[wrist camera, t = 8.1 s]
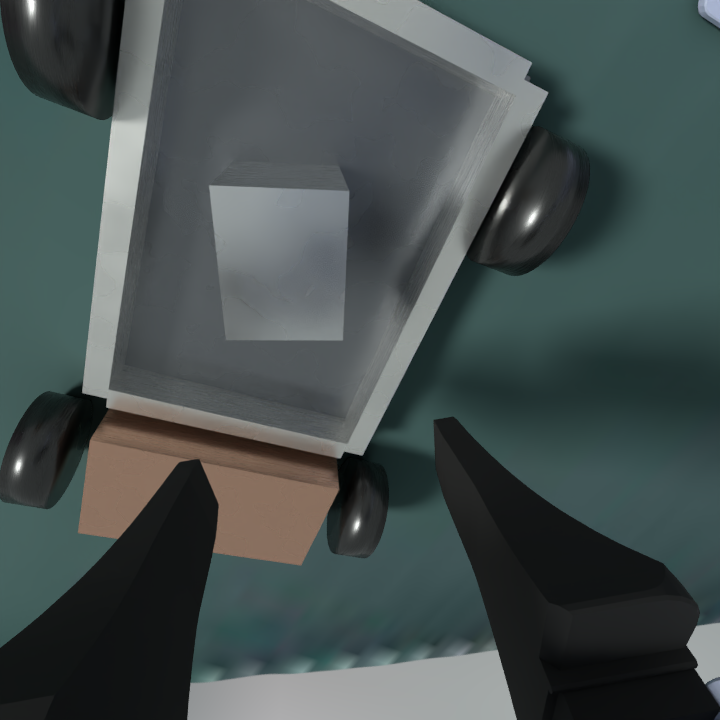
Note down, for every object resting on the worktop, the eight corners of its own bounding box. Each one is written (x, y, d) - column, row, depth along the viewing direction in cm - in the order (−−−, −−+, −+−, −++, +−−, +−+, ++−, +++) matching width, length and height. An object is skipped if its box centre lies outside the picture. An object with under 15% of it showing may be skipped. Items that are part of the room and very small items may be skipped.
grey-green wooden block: (338, 165, 17) (349, 191, 13) (334, 286, 20) (342, 340, 16) (233, 160, 17) (209, 185, 13) (243, 285, 20) (225, 340, 15)
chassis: (565, 97, 17) (648, 100, 13) (344, 514, 28) (350, 589, 24) (101, -149, 13) (-1, -265, 9) (52, 461, 24) (-2, 541, 20)
